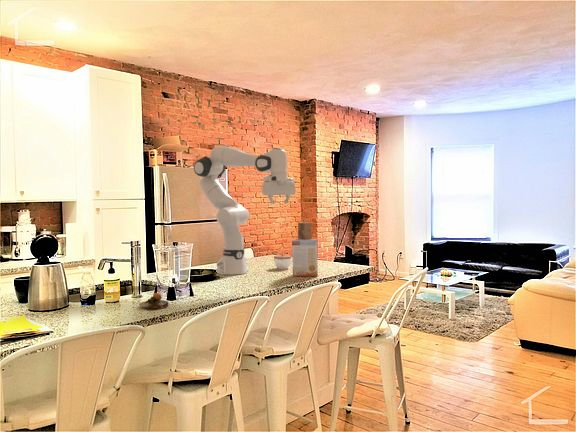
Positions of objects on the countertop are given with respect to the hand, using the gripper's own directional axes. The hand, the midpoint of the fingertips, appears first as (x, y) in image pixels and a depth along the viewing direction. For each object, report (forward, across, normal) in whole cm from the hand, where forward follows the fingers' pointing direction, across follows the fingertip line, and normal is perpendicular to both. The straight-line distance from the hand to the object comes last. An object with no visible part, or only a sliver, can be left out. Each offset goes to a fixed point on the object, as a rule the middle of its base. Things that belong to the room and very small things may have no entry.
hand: (279, 203), depth 255 cm
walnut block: (+20, -16, +2) cm, 26 cm away
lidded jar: (+41, -21, -26) cm, 53 cm away
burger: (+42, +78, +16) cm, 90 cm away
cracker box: (+41, -16, +2) cm, 44 cm away
